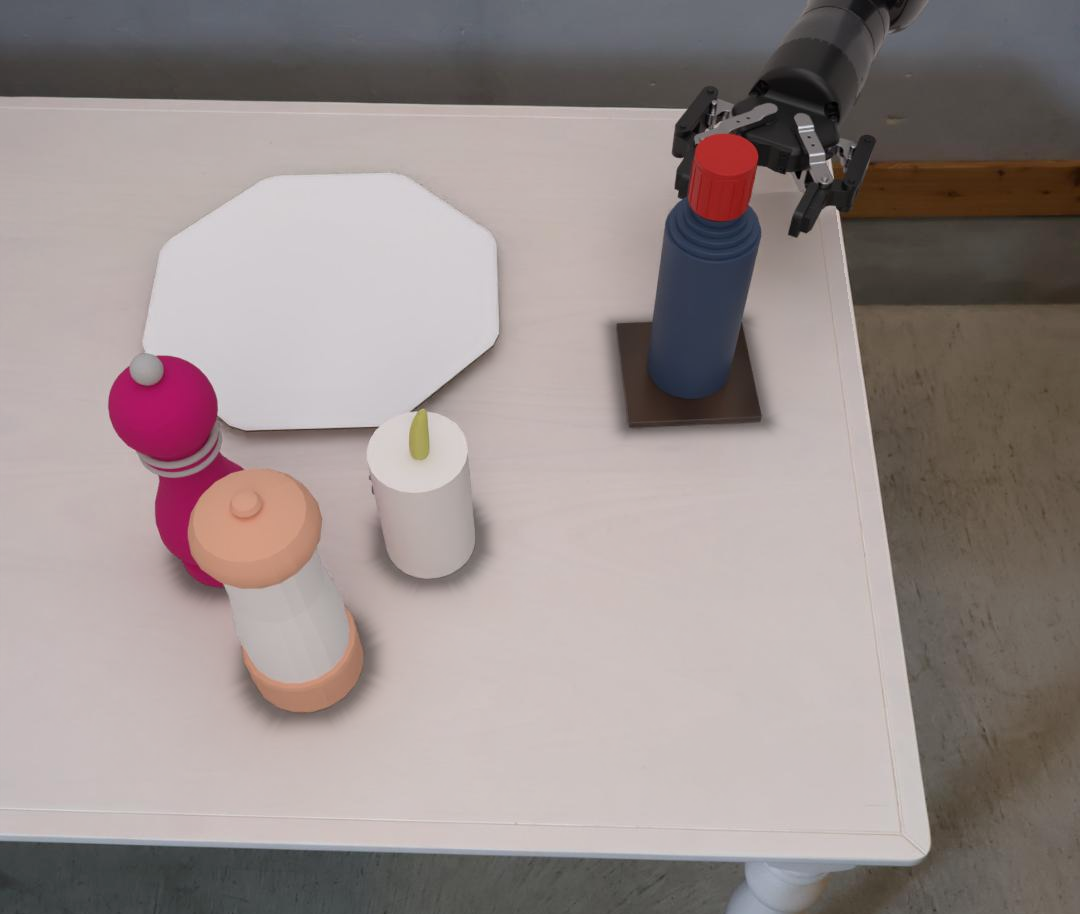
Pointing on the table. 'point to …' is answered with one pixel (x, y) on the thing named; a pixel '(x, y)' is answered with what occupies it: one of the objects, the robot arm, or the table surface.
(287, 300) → the plate
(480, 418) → the table surface
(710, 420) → the coaster
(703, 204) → the cap
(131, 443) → the pepper mill
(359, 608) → the table surface
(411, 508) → the candle
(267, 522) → the pepper shaker
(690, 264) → the bottle
